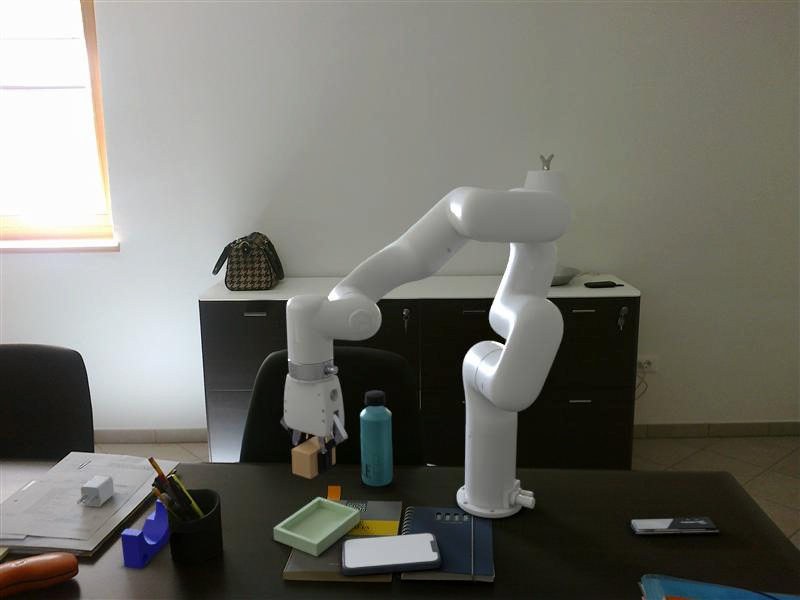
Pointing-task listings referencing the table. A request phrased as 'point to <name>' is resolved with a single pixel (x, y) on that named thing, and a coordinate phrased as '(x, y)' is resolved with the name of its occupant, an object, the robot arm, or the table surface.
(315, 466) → the wooden block
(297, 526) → the shallow green tray
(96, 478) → the usb wall charger
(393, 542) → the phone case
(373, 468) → the beverage bottle
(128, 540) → the blue tape dispenser
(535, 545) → the table surface
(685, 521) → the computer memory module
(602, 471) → the table surface
